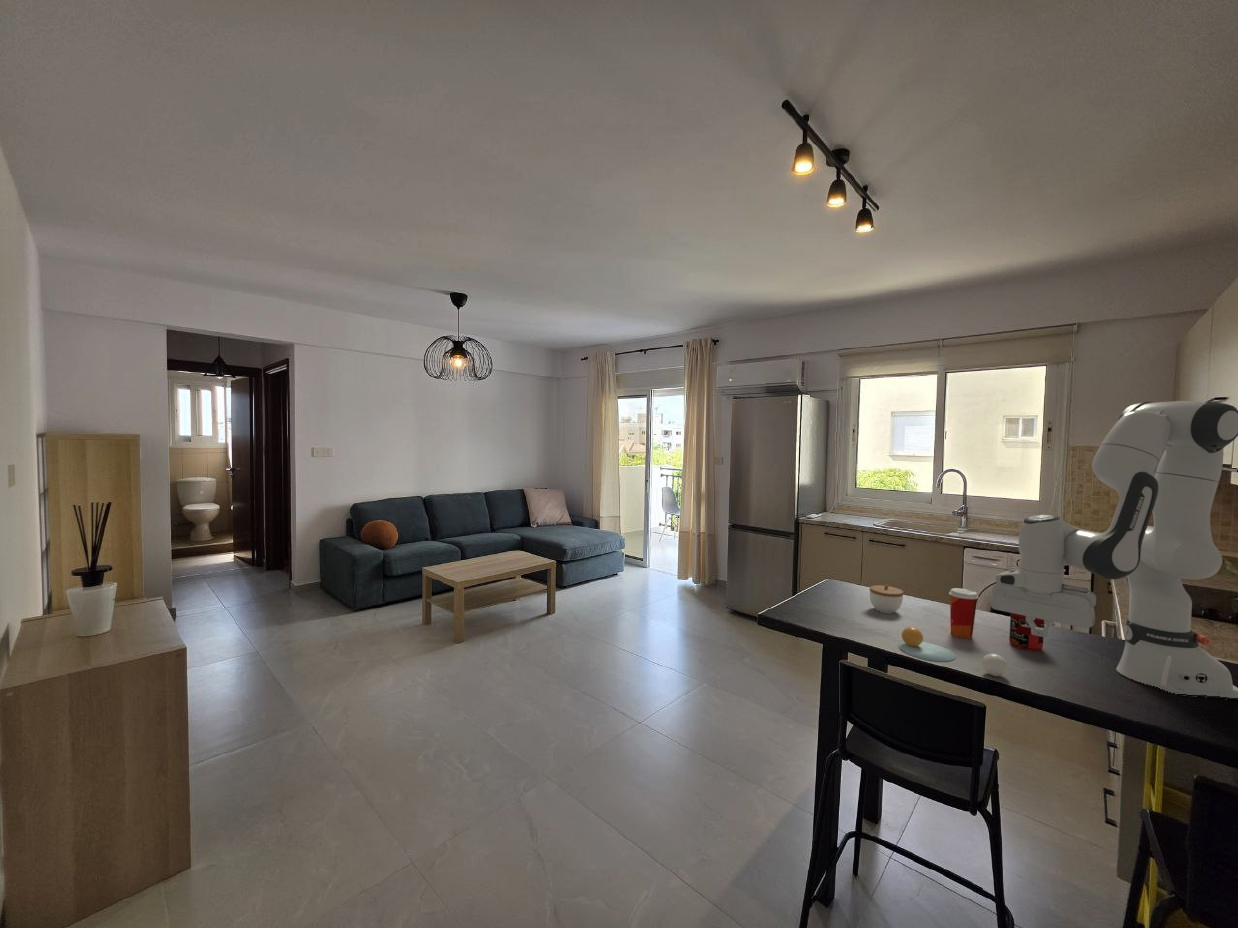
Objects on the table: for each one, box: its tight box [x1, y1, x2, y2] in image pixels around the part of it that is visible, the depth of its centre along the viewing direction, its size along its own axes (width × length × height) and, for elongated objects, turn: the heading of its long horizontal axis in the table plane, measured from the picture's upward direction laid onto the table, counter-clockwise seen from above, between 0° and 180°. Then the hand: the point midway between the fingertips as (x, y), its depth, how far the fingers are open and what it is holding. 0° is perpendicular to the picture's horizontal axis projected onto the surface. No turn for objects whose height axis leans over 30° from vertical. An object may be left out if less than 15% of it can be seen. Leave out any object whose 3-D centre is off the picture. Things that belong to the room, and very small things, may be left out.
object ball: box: [901, 626, 924, 647], centre depth 153 cm, size 6×6×6 cm
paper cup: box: [948, 587, 979, 639], centre depth 162 cm, size 8×8×14 cm
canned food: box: [1008, 613, 1045, 652], centre depth 155 cm, size 8×8×11 cm
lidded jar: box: [869, 584, 904, 615], centre depth 185 cm, size 11×11×9 cm
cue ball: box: [981, 653, 1009, 677], centre depth 135 cm, size 6×6×6 cm
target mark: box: [898, 641, 956, 663], centre depth 149 cm, size 14×14×1 cm
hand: (1039, 635), depth 129 cm, fingers closed
